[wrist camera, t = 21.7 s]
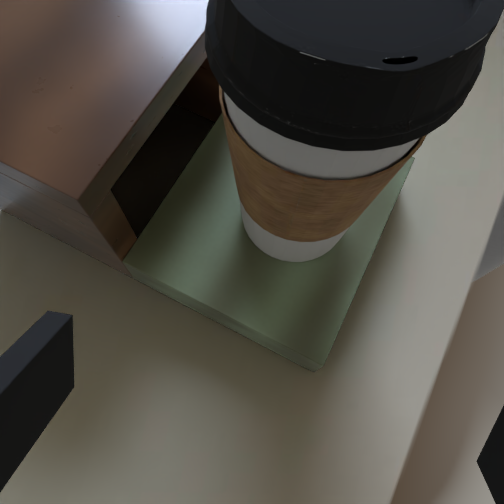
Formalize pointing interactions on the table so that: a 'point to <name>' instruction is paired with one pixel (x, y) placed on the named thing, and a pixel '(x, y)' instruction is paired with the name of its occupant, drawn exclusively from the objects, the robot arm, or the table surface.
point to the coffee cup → (334, 103)
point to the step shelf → (185, 188)
